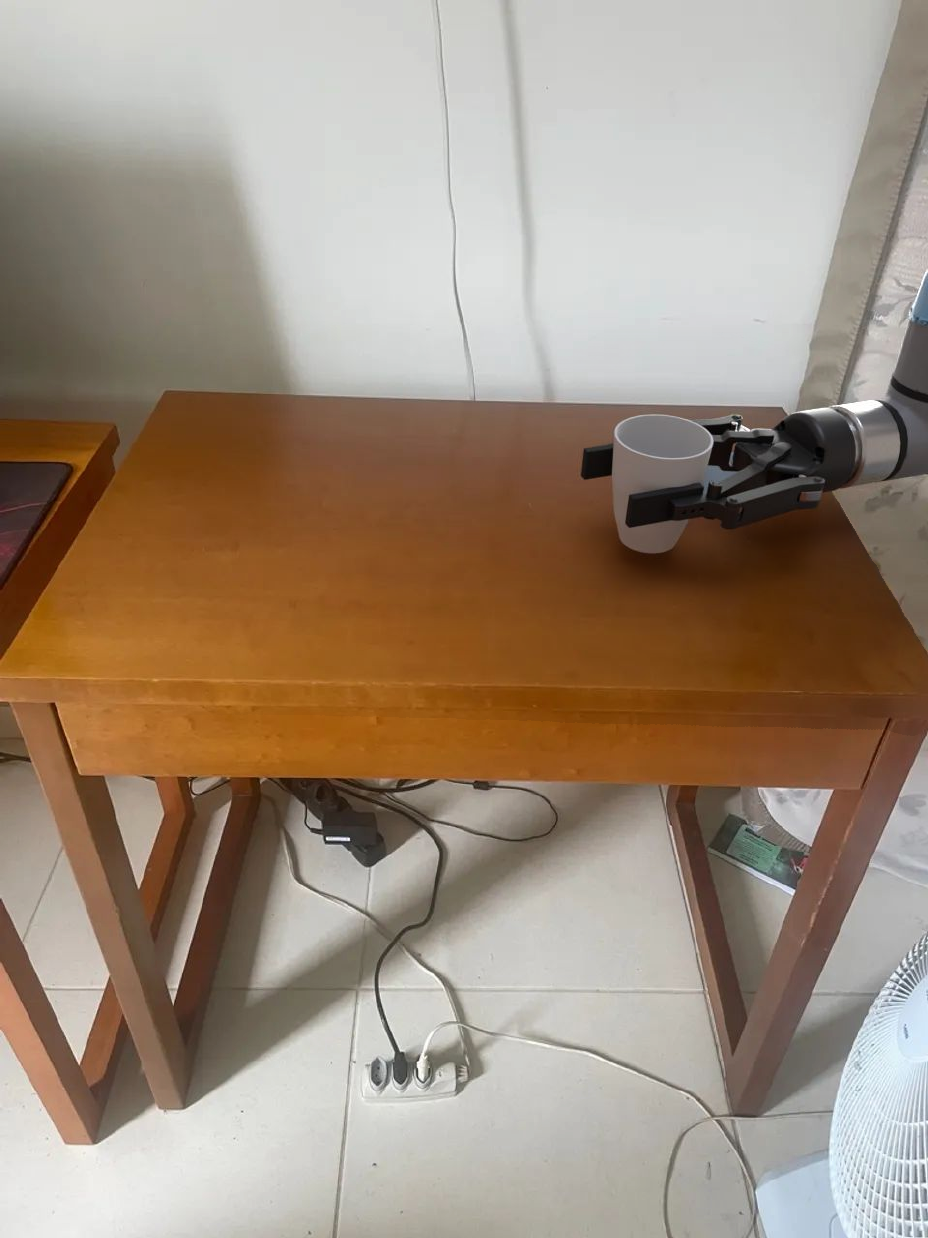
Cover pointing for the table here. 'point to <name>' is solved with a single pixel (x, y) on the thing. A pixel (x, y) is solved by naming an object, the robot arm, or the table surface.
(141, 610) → the table surface
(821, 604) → the table surface
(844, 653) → the table surface
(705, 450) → the cup
